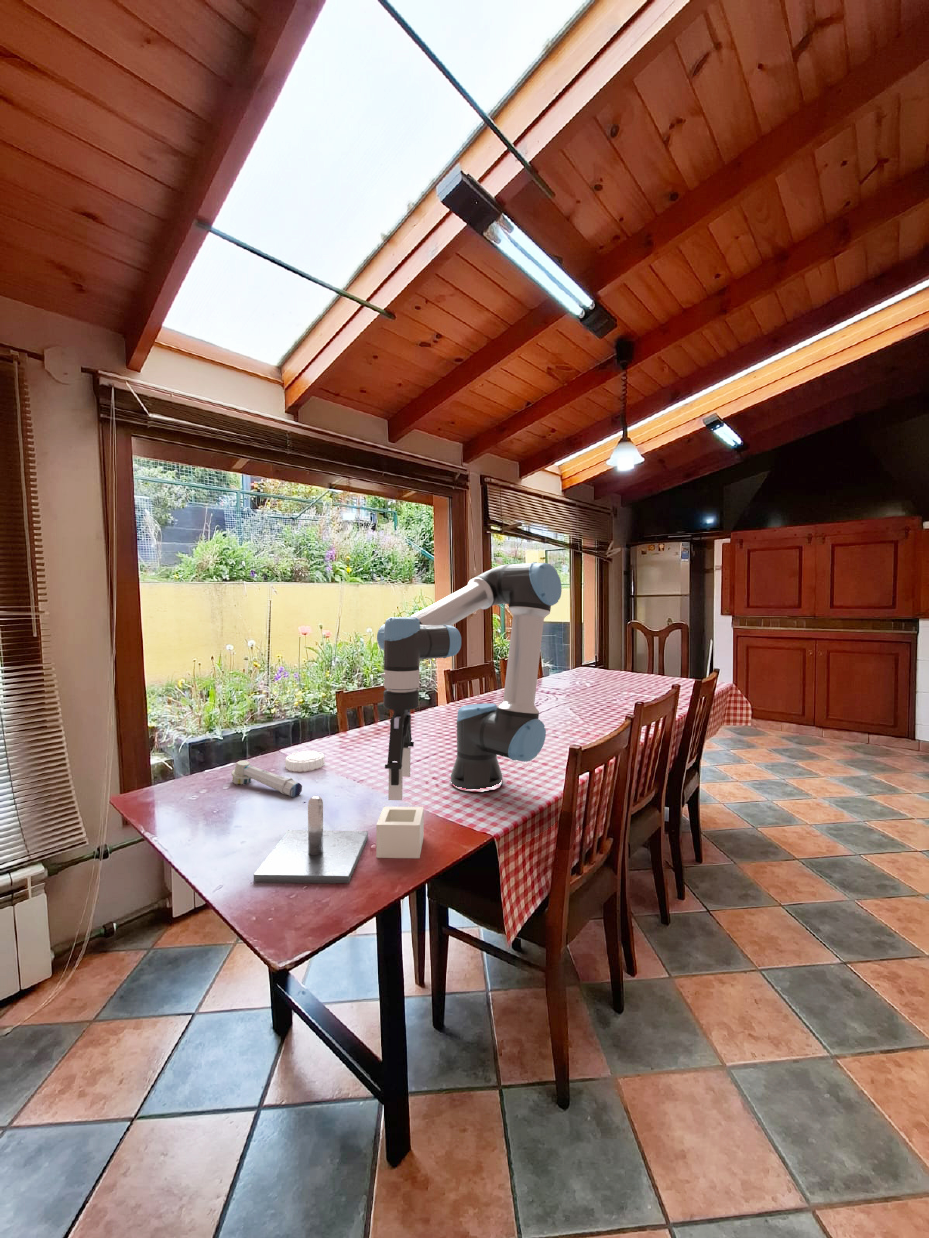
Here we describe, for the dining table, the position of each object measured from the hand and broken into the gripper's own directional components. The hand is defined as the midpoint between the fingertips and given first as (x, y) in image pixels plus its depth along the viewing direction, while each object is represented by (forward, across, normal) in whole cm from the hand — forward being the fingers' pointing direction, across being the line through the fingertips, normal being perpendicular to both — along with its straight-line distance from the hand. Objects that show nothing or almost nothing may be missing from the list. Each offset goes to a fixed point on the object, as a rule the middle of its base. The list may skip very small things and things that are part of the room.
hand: (400, 787), depth 107 cm
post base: (+14, +5, -17) cm, 22 cm away
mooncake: (+14, -52, -38) cm, 66 cm away
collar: (+13, 0, 0) cm, 13 cm away
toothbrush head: (+14, -33, -43) cm, 56 cm away
